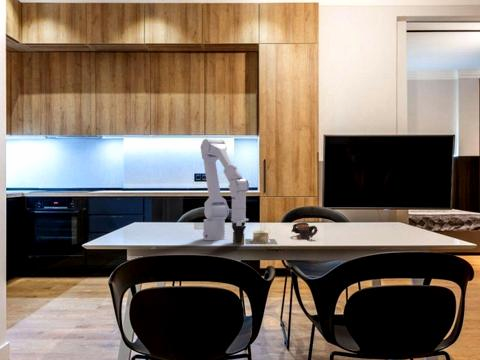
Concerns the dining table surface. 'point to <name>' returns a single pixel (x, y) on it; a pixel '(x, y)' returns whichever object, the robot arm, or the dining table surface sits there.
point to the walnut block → (235, 241)
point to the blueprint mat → (250, 241)
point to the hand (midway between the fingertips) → (238, 241)
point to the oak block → (260, 236)
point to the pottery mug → (304, 230)
